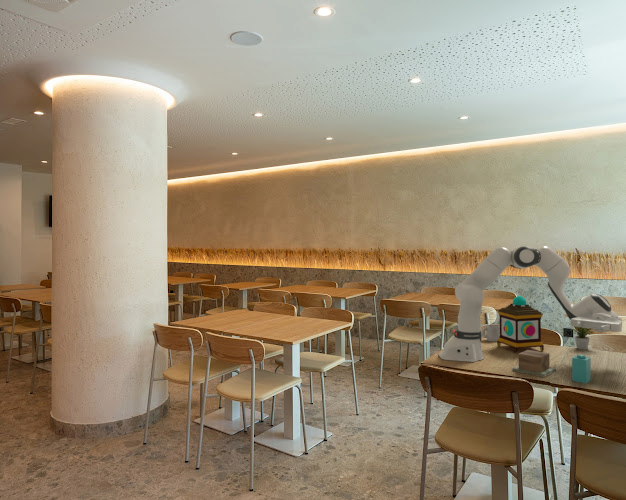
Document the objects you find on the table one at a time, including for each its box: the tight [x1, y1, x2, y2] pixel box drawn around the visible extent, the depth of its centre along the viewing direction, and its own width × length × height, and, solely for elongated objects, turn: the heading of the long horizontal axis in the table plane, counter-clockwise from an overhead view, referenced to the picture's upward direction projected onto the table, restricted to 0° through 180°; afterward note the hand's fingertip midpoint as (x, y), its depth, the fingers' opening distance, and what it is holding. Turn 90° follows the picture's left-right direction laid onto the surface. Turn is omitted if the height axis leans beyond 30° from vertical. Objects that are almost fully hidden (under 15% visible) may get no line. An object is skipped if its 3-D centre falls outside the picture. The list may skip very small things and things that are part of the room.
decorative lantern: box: [496, 295, 545, 354], centre depth 250 cm, size 20×20×30 cm
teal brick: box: [571, 354, 592, 384], centre depth 194 cm, size 6×6×11 cm
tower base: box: [511, 349, 557, 378], centre depth 210 cm, size 14×14×8 cm
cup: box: [481, 324, 500, 343], centre depth 272 cm, size 7×10×9 cm
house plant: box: [571, 327, 596, 350], centre depth 247 cm, size 14×14×16 cm
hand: (590, 326), depth 202 cm, fingers open, 8 cm apart
